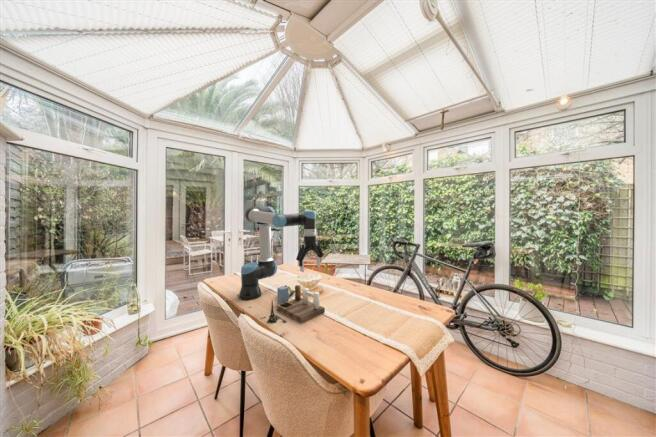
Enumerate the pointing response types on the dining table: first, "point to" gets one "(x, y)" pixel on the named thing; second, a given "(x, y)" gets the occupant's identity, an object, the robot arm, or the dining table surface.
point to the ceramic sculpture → (290, 291)
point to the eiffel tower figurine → (274, 317)
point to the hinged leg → (314, 295)
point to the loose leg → (282, 294)
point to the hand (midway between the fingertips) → (310, 269)
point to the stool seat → (299, 308)
